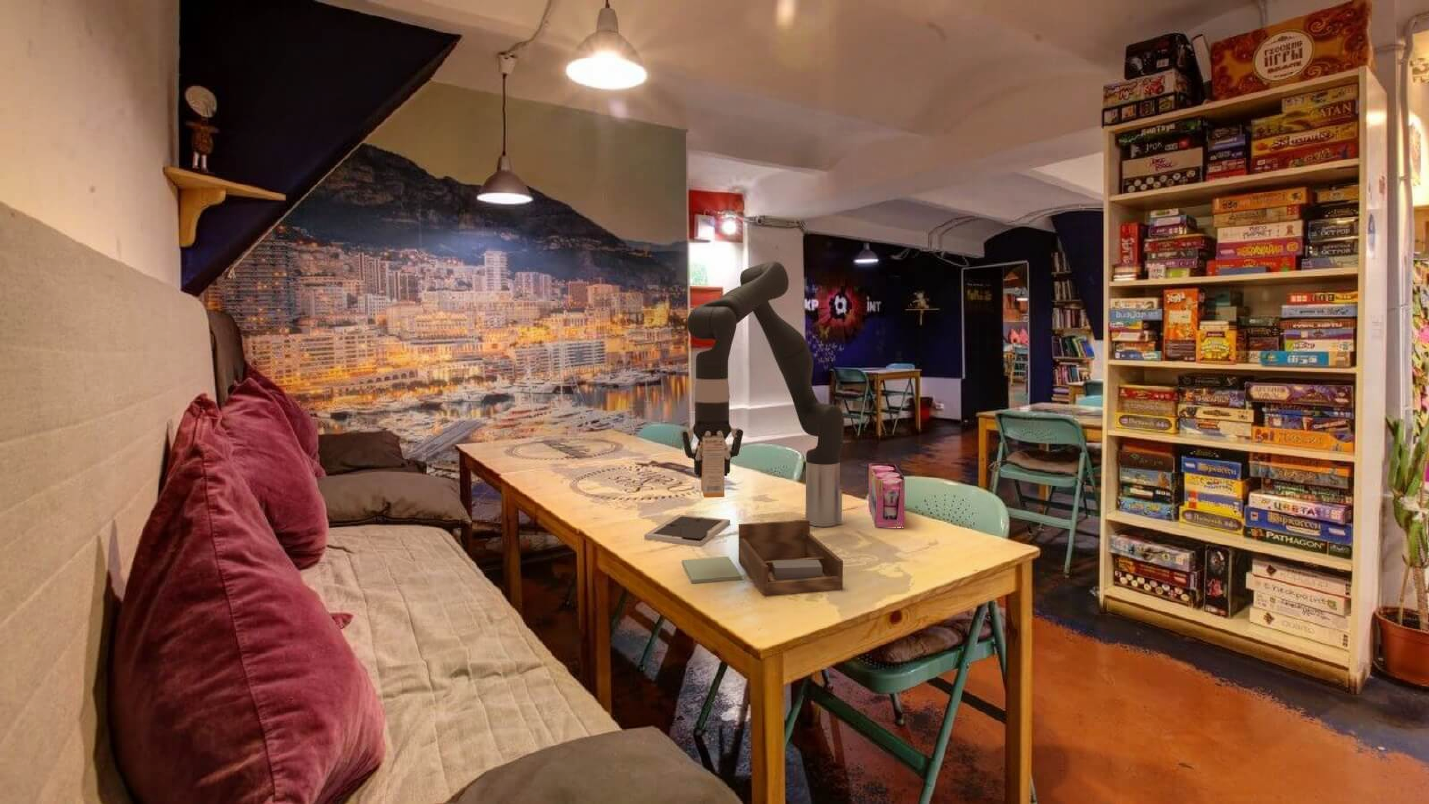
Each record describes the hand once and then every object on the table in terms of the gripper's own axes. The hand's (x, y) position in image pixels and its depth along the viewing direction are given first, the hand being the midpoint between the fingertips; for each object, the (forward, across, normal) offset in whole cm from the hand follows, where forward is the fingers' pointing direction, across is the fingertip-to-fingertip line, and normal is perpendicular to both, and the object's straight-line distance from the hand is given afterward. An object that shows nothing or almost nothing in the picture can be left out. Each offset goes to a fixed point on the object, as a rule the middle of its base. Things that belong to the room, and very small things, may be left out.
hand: (712, 475), depth 151 cm
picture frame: (+23, 0, -31) cm, 38 cm away
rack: (+22, -16, +6) cm, 27 cm away
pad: (+22, 0, 0) cm, 22 cm away
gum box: (+22, -58, -32) cm, 69 cm away
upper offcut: (+20, -16, +12) cm, 28 cm away
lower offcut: (+22, -16, +11) cm, 29 cm away
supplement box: (+4, 0, 0) cm, 4 cm away
